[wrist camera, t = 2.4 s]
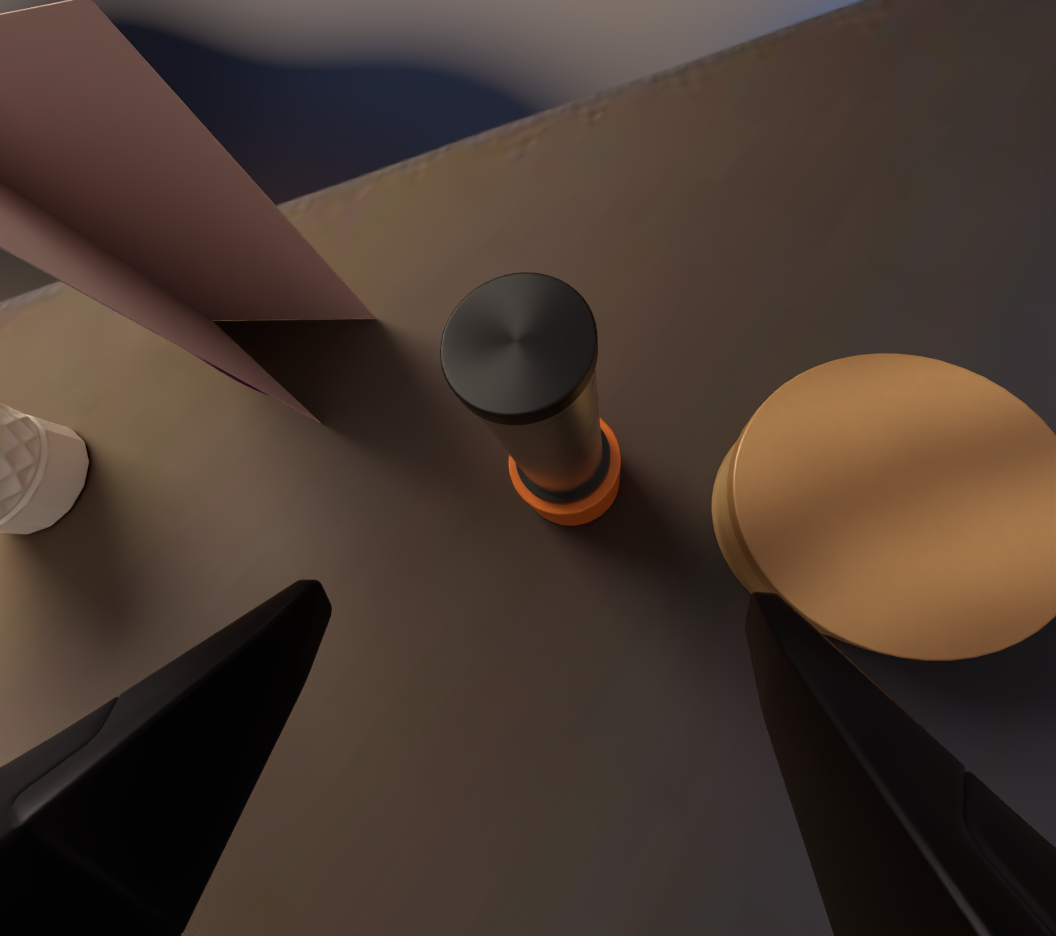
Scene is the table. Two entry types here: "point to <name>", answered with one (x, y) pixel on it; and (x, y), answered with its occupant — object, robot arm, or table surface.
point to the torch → (536, 391)
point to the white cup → (37, 471)
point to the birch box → (896, 507)
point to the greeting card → (143, 196)
